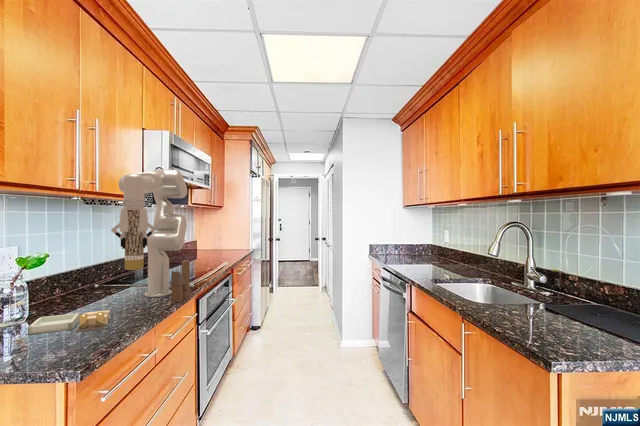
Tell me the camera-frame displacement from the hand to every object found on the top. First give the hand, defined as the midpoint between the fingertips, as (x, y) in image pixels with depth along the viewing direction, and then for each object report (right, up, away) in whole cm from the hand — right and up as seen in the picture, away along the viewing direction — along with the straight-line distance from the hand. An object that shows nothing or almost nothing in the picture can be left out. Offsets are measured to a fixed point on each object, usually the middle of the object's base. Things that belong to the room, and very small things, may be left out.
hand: (134, 247), depth 135 cm
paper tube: (0, -9, 0) cm, 9 cm away
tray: (-19, -27, -17) cm, 37 cm away
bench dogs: (-4, -27, -19) cm, 33 cm away
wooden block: (+11, -27, +21) cm, 36 cm away
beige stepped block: (-7, -27, -13) cm, 31 cm away
